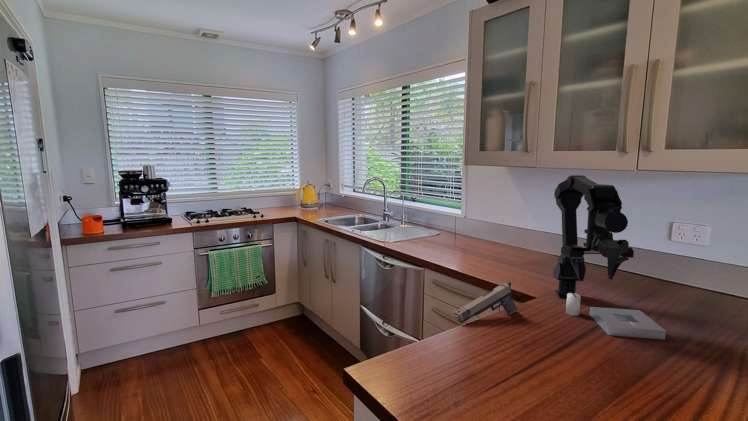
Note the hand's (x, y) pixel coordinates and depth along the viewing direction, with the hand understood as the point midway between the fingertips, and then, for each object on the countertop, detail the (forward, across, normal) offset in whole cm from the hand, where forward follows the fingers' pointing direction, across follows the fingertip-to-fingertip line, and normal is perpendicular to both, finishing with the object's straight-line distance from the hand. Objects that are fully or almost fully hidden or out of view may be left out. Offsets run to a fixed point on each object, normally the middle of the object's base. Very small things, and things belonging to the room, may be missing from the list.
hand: (594, 279), depth 112 cm
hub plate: (+13, +8, -4) cm, 15 cm away
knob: (+13, -3, +6) cm, 14 cm away
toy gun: (+13, -31, +3) cm, 34 cm away
